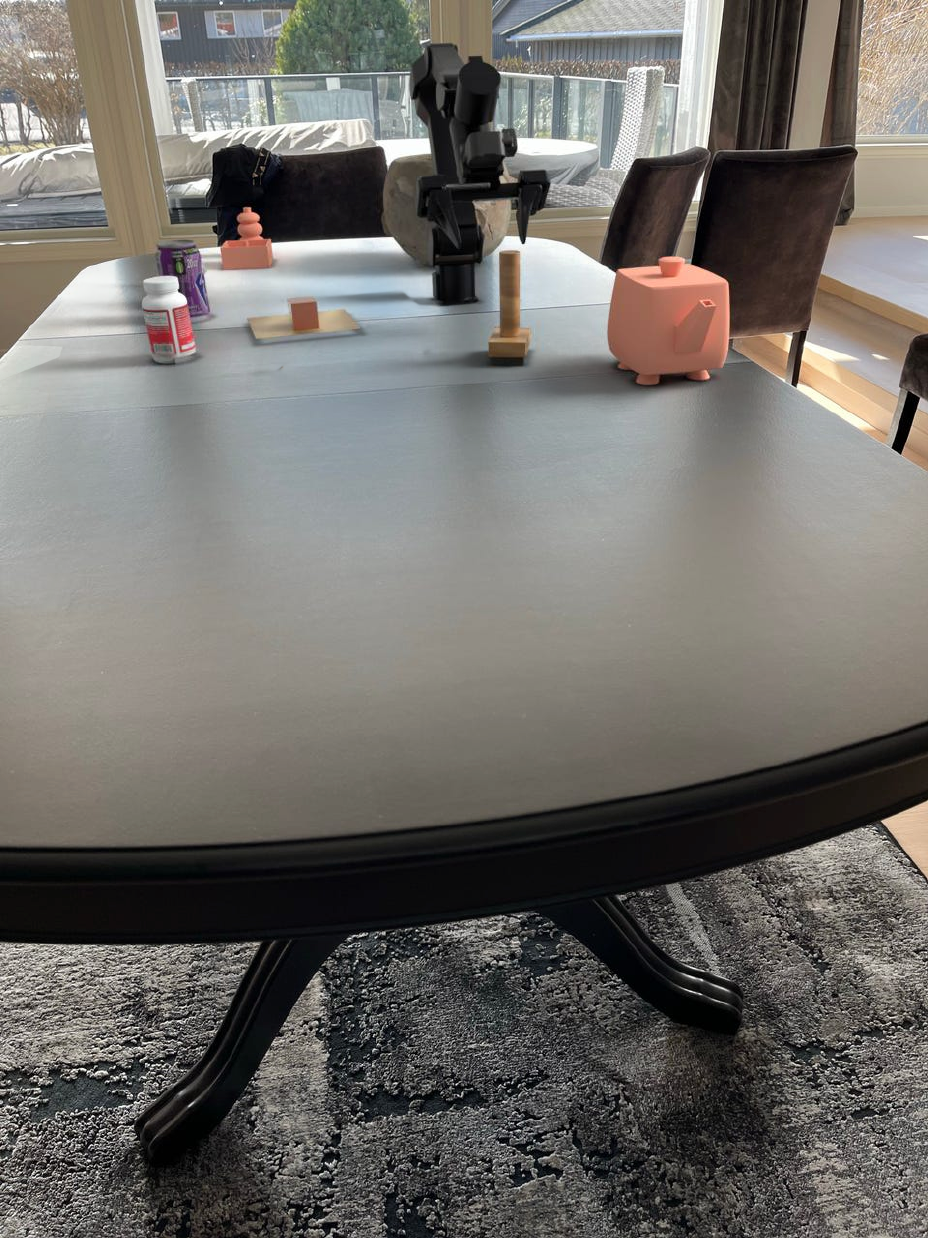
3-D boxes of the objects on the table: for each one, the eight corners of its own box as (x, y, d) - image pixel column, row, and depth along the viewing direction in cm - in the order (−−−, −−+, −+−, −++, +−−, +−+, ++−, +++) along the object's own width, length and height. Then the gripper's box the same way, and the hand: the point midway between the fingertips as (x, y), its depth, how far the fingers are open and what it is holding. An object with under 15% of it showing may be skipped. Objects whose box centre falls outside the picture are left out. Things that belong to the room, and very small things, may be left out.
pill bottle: (192, 350, 140) (178, 272, 134) (201, 360, 135) (187, 280, 129) (149, 356, 137) (133, 277, 132) (157, 367, 133) (141, 285, 127)
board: (345, 314, 157) (344, 308, 156) (361, 334, 145) (361, 327, 145) (248, 324, 153) (247, 317, 153) (256, 345, 141) (255, 338, 141)
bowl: (352, 270, 190) (343, 159, 180) (436, 247, 210) (432, 147, 199) (463, 282, 176) (460, 164, 166) (541, 257, 196) (543, 150, 186)
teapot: (747, 393, 115) (763, 271, 108) (649, 402, 113) (658, 279, 106) (677, 347, 134) (686, 240, 126) (591, 354, 132) (595, 247, 124)
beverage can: (199, 324, 154) (186, 246, 148) (159, 323, 155) (145, 246, 149) (217, 313, 160) (205, 238, 154) (179, 313, 161) (165, 238, 155)
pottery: (269, 267, 195) (263, 216, 190) (223, 269, 194) (215, 218, 189) (276, 252, 210) (270, 204, 205) (233, 254, 210) (227, 206, 205)
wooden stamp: (495, 349, 135) (494, 246, 128) (530, 350, 135) (531, 246, 127) (488, 365, 129) (487, 257, 121) (525, 366, 128) (525, 257, 121)
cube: (315, 322, 149) (312, 296, 147) (319, 328, 145) (316, 301, 143) (290, 324, 148) (287, 298, 146) (293, 330, 144) (290, 303, 142)
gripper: (413, 109, 126) (430, 208, 122) (548, 103, 129) (569, 200, 125) (408, 169, 137) (424, 262, 133) (533, 163, 140) (552, 253, 136)
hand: (491, 244), depth 131 cm, fingers open, 9 cm apart
